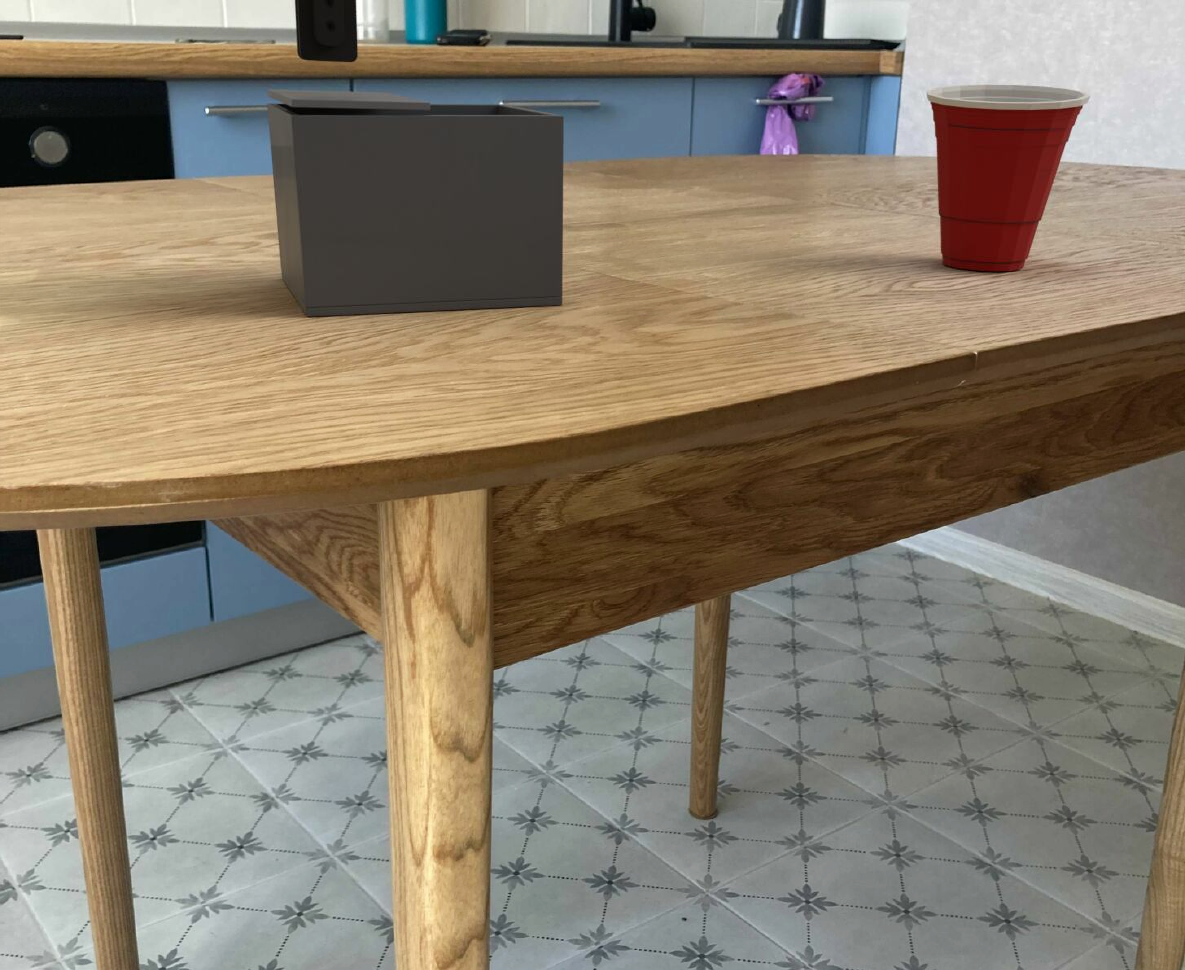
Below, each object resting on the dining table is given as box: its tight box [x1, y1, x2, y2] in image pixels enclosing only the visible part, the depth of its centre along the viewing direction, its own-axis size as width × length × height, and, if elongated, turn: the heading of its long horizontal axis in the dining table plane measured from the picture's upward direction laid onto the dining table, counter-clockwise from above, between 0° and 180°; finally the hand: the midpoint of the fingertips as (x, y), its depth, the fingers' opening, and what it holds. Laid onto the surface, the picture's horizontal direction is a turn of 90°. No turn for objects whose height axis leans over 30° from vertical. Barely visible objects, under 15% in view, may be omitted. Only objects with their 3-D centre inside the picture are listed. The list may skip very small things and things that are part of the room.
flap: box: [267, 89, 431, 110], centre depth 72 cm, size 7×13×1 cm, turn 19°
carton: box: [266, 102, 565, 318], centre depth 76 cm, size 15×13×10 cm
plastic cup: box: [925, 84, 1091, 272], centre depth 88 cm, size 11×11×12 cm
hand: (327, 60), depth 72 cm, fingers closed
